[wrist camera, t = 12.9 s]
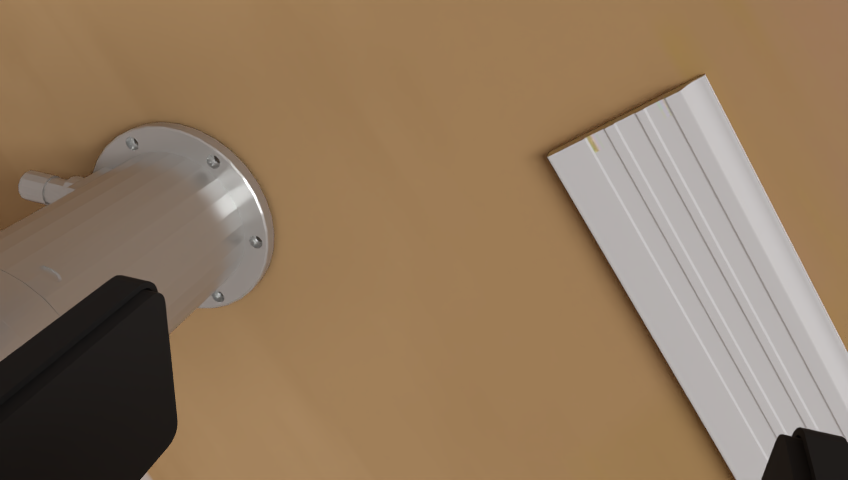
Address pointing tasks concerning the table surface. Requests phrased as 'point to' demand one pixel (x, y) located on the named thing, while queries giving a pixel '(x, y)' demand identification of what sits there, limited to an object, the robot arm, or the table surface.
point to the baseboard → (710, 272)
